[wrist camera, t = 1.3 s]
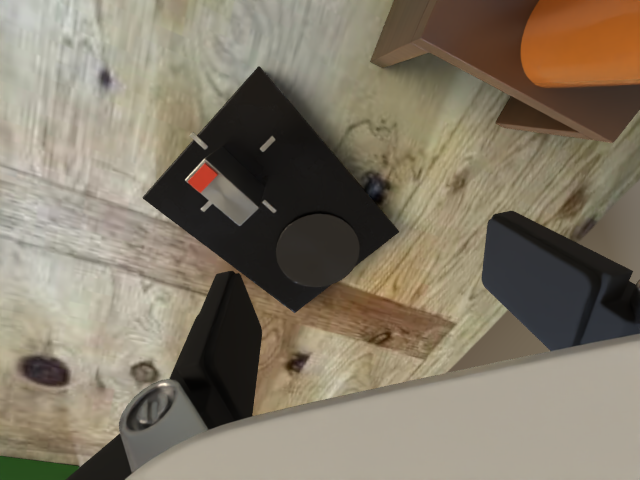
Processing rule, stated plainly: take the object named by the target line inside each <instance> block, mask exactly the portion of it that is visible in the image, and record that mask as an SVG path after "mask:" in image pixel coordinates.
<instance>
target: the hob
mask: <svg viewBox="0 0 640 480" xmlns="http://www.w3.org/2000/svg"><path fill="white" fill-rule="evenodd" d="M190 137H192V138H193V139H194V140H193V141H192V142H191V143H190V144H189V145H188V147H187V148H186V149H185V150H184V151H183V152H182V153H181V154H180V156H179V157H178V158H177V159H176V160H175V161H174V162H173V164H172V165H171V166H170V167H169V168H168V169H167V170H166V171H165V173H164V174H163V175H162V176H161V177H160V178H159V179H158V180H157V182H156V183H155V184H154V185H153V186H152V187H151V188H150V190H149V191H148V192H147V193H146V194H145V195H144V196H143V199H144V200H146V201H147V202H148V203H150V204H151V205H152V206H154V207H155V208H156V209H158V210H159V211H160V212H162V213H163V214H164V215H166V216H167V217H168V218H169V219H171V220H172V221H173V222H175V223H176V224H177V225H179V226H180V227H181V228H183V229H184V230H185V231H187V232H188V233H189V234H191V235H192V236H193V237H195V238H196V239H197V240H199V241H200V242H201V243H203V244H204V245H205V246H207V247H208V248H209V249H211V250H212V251H213V252H214V253H216V254H217V255H218V256H220V257H221V258H222V259H224V260H225V261H226V262H228V263H229V264H230V265H232V266H233V267H234V268H236V269H237V270H238V271H240V272H241V273H242V274H244V275H245V276H246V277H248V278H249V279H250V280H252V281H253V282H254V283H256V284H257V285H258V286H260V287H261V288H262V289H263V290H265V291H266V292H267V293H269V294H270V295H271V296H273V297H274V298H275V299H277V300H278V301H279V302H281V303H282V304H283V305H285V306H286V307H287V308H289V309H290V310H291V311H293V312H294V313H295V312H297V311H298V310H299V309H301V308H302V307H303V306H304V305H306V304H307V303H308V302H310V301H311V300H312V299H313V298H315V297H316V296H317V295H319V294H320V293H321V292H323V291H324V290H325V289H326V288H328V287H329V286H330V285H328V286H323V287H309V286H304V285H300V284H298V283H296V282H294V281H292V280H291V279H289V278H288V277H287V276H286V275H285V274H284V273H283V272H282V270H281V269H280V267H279V265H278V262H277V259H276V245H277V241H278V238H279V236H280V234H281V232H282V231H283V230H284V228H285V227H286V226H287V225H288V224H289V223H291V222H292V221H293V220H295V219H296V218H298V217H301V216H303V215H306V214H310V213H329V214H333V215H336V216H338V217H340V218H342V219H343V220H345V221H346V222H347V223H348V224H350V226H351V227H352V228H353V229H354V231H355V233H356V235H357V237H358V240H359V246H360V251H359V257H358V260H357V263H356V265H357V264H359V263H360V262H361V261H363V260H364V259H365V258H366V257H368V256H369V255H370V254H372V253H373V252H374V251H375V250H377V249H378V248H379V247H381V246H382V245H383V244H384V243H386V242H387V241H388V240H390V239H391V238H392V237H393V236H395V235H396V234H397V233H399V231H398V229H397V228H396V227H395V226H394V224H393V223H392V222H391V221H390V220H389V218H388V217H387V216H386V215H385V214H384V213H383V211H382V210H381V209H380V208H379V207H378V205H377V204H376V203H375V202H374V201H373V200H372V198H371V197H370V196H369V195H368V194H367V192H366V191H365V190H364V189H363V188H362V187H361V185H360V184H359V183H358V182H357V181H356V179H355V178H354V177H353V176H352V175H351V174H350V172H349V171H348V170H347V169H346V168H345V166H344V165H343V164H342V163H341V162H340V161H339V159H338V158H337V157H336V156H335V155H334V153H333V152H332V151H331V150H330V149H329V148H328V146H327V145H326V144H325V143H324V142H323V140H322V139H321V138H320V137H319V136H318V135H317V133H316V132H315V131H314V130H313V129H312V127H311V126H310V125H309V124H308V123H307V122H306V120H305V119H304V118H303V117H302V116H301V114H300V113H299V112H298V111H297V110H296V109H295V107H294V106H293V105H292V104H291V103H290V101H289V100H288V99H287V98H286V97H285V96H284V94H283V93H282V92H281V91H280V90H279V88H278V87H277V86H276V85H275V84H274V83H273V81H272V80H271V79H270V78H269V77H268V75H267V74H266V73H265V72H264V71H263V70H262V69H261V68H260V67H257V69H256V70H255V71H254V72H253V73H252V74H251V75H250V76H249V78H248V79H247V80H246V81H245V82H244V83H243V84H242V86H241V87H240V88H239V89H238V90H237V91H236V92H235V93H234V95H233V96H232V97H231V98H230V99H229V100H228V101H227V102H226V104H225V105H224V106H223V107H222V108H221V109H220V110H219V112H218V113H217V114H216V115H215V116H214V117H213V118H212V119H211V121H210V122H209V123H208V124H207V125H206V126H205V127H204V128H203V130H202V131H201V132H200V133H199V134H198V135H196V134H195V133H194V132H192V133H191V134H190ZM220 147H224V148H225V149H226V150H227V151H228V152H229V153H230V154H231V155H232V156H233V157H234V158H235V159H236V160H237V161H238V162H239V163H240V164H242V165H243V166H244V167H245V168H246V169H247V170H248V171H249V172H250V173H251V174H252V175H253V176H254V177H255V178H256V179H257V180H258V181H259V182H260V183H261V184H262V185H263V186H264V187H265V189H264V192H263V196H262V199H261V203H260V206H259V209H258V210H257V211H256V212H254V213H253V214H252V215H251V216H250V217H249V218H248V219H247V220H246V221H245V222H244V223H243V224H242V225H241V226H239V225H238V224H236V223H235V222H234V221H233V220H232V219H230V218H229V217H228V216H227V215H226V214H224V213H223V212H222V211H221V210H220V209H218V208H217V207H216V206H215V205H214V204H212V203H211V202H210V201H209V200H208V199H207V198H205V197H204V196H203V195H202V194H201V193H199V192H198V191H197V190H196V189H195V188H193V187H192V186H191V185H190V184H189V183H187V182H186V181H185V179H186V178H187V177H188V176H189V175H190V173H191V172H192V171H193V170H194V169H195V168H196V167H197V166H198V165H199V164H200V163H201V162H202V160H203V159H204V158H206V157H207V156H209V155H210V154H212V153H213V152H215V151H216V150H218V149H219V148H220ZM356 265H355V266H356ZM355 266H354V267H355ZM331 285H332V284H331Z"/></svg>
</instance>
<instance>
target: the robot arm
mask: <svg viewBox="0 0 640 480" xmlns="http://www.w3.org/2000/svg"><path fill="white" fill-rule="evenodd" d="M632 272H633V271H632V270H630V269H628V268H626V267H624V266H622V265H620V264H618V263H615V262H614V261H611V260H610V259H608V258H606V257H604V256H602V255H600V254H598V253H596V252H594V251H592V250H590V249H588V248H586V247H584V246H582V245H580V244H578V243H576V242H574V241H572V240H570V239H568V238H566V237H564V236H562V235H560V234H558V233H556V232H554V231H552V230H550V229H548V228H546V227H544V226H542V225H540V224H538V223H536V222H534V221H532V220H530V219H528V218H526V217H524V216H522V215H520V214H518V213H516V212H514V211H508V212H503V213H498V214H495V215H493V217H492V219H490V220H489V221H488V225H487V234H486V243H485V253H484V262H483V271H482V282H483V285H484V286H485V288H486V289H487V290H488V291H489V292H490V293H491V294H492V295H494V296H495V297H496V298H497V299H498V300H499V301H500V302H501V303H502V304H503V305H504V306H505V307H506V308H507V309H508V310H509V311H510V312H511V313H512V314H513V315H514V316H515V317H516V318H517V319H519V320H520V321H521V322H522V323H523V324H524V325H525V326H526V327H527V328H528V329H529V330H530V331H531V332H532V333H533V334H534V335H535V336H536V337H537V338H538V339H539V340H540V341H541V342H542V343H543V344H544V345H545V346H546V347H547V348H548V349H549V350H550V352H545V353H540V354H535V355H530V356H525V357H521V358H516V359H512V360H506V361H501V362H497V363H492V364H487V365H483V366H478V367H473V368H469V369H464V370H459V371H454V372H450V373H445V374H440V375H435V376H431V377H426V378H421V379H417V380H412V381H407V382H403V383H398V384H393V385H389V386H384V387H380V388H375V389H371V390H366V391H361V392H357V393H352V394H348V395H343V396H339V397H334V398H330V399H325V400H320V401H316V402H311V403H307V404H303V405H298V406H294V407H290V408H286V409H281V410H277V411H273V412H269V413H265V414H260V415H256V416H252V413H253V405H254V396H255V388H256V380H257V372H258V363H259V355H260V347H261V339H262V329H261V325H260V323H259V320H258V318H257V315H256V313H255V310H254V308H253V305H252V303H251V300H250V298H249V295H248V293H247V290H246V288H245V285H244V283H243V280H242V278H241V275H240V274H239V273H237V274H235V273H234V271H228V272H224V273H219V274H216V276H215V278H214V281H213V283H212V285H211V288H210V290H209V292H208V295H207V297H206V299H205V302H204V304H203V307H202V309H201V311H200V314H199V315H198V316H197V317H196V319H195V321H194V323H193V326H192V328H191V330H190V333H189V335H188V337H187V340H186V342H185V344H184V347H183V349H182V351H181V353H180V356H179V358H178V360H177V363H176V365H175V367H174V370H173V372H172V374H171V377H170V379H166V380H161V381H158V382H156V383H153V384H151V385H150V386H148V387H146V388H145V389H143V390H142V391H141V392H140V393H139V394H137V395H136V396H135V397H134V398H133V399H132V401H131V402H130V403H129V404H128V405H127V407H126V409H125V410H124V412H123V413H122V416H121V419H120V422H119V431H120V434H119V435H118V436H116V437H115V438H114V439H113V440H112V441H111V442H109V443H108V444H107V445H106V446H105V447H103V448H102V449H101V450H100V451H99V452H98V453H96V454H95V455H94V456H93V457H92V458H90V459H89V460H88V461H87V462H86V463H85V464H83V465H82V466H81V467H80V468H79V469H77V470H76V471H75V472H74V473H73V474H71V475H70V476H69V477H68V478H67V479H66V480H640V280H639V281H638V282H637V284H636V285H635V284H633V283H632V282H630V281H629V279H630V277H631V275H632Z"/></svg>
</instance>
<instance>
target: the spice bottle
mask: <svg viewBox="0 0 640 480" xmlns="http://www.w3.org/2000/svg"><path fill="white" fill-rule="evenodd" d="M520 54H521V63H522V67H523V70H524V72H525V74H526V76H527V77H528V78H529V80H530V81H532V82H533V83H534V84H536V85H537V86H540V87H543V88H570V87H595V86H620V85H640V0H539V2H538V3H537V4H536V6H535V7H534V9H533V11H532V13H531V14H530V17H529V19H528V21H527V23H526V26H525V29H524V32H523V36H522V41H521V50H520Z"/></svg>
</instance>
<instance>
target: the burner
mask: <svg viewBox="0 0 640 480" xmlns="http://www.w3.org/2000/svg"><path fill="white" fill-rule="evenodd" d="M359 251H360V246H359V240H358V237H357V235H356V233H355V231H354V229H353V228H352V227H351V226H350V224H348V223H347V222H346V221H345V220H343V219H342V218H340V217H338V216H336V215H333V214H329V213H310V214H306V215H303V216H301V217H298V218H296V219H295V220H293V221H292V222H291V223H289V224H288V225H287V226H286V227H285V228H284V230H283V231H282V232H281V234H280V236H279V238H278V241H277V245H276V259H277V262H278V265H279V267H280V269H281V270H282V272H283V273H284V274H285V275H286V276H287V277H288V278H289V279H291V280H292V281H294V282H296V283H298V284H300V285H304V286H309V287H323V286H328V285H331V284H334V283H336V282H338V281H340V280H342V279H343V278H344V277H346V276H347V275H348V274H349V273H350V272H351V271H352V269H353V268H354V266H355V265H356V263H357V260H358V257H359Z"/></svg>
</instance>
